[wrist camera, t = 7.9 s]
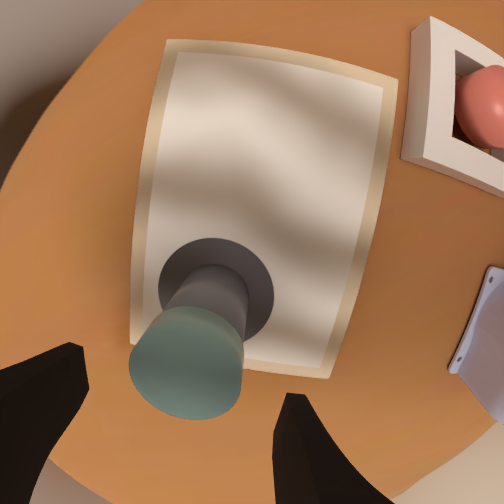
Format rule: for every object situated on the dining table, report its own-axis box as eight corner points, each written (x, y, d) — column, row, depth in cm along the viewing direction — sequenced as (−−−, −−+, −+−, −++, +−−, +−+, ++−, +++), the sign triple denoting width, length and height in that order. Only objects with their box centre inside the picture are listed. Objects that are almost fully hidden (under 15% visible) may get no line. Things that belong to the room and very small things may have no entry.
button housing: (500, 197, 17) (525, 202, 14) (399, 159, 17) (422, 157, 14) (507, 85, 14) (530, 79, 11) (410, 32, 14) (429, 15, 11)
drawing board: (326, 370, 20) (329, 381, 19) (135, 336, 20) (128, 345, 19) (392, 83, 15) (400, 78, 14) (171, 45, 15) (165, 37, 14)
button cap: (502, 159, 14) (531, 160, 11) (449, 133, 14) (479, 128, 11) (504, 93, 13) (531, 87, 10) (453, 63, 13) (479, 50, 10)
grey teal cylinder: (244, 333, 18) (232, 428, 11) (177, 320, 18) (131, 405, 11) (256, 269, 17) (250, 344, 10) (183, 256, 17) (127, 318, 9)
